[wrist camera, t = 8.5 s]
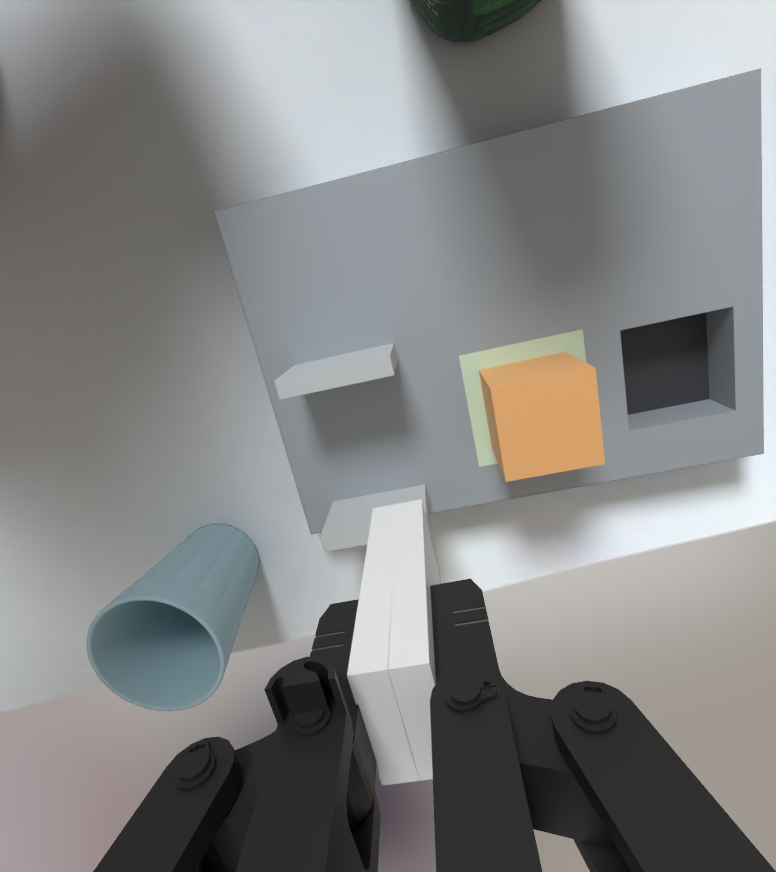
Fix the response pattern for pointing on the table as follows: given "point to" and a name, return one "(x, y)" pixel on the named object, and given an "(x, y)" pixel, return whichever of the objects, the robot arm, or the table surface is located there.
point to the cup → (176, 622)
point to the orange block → (543, 415)
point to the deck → (513, 302)
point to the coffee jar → (471, 16)
